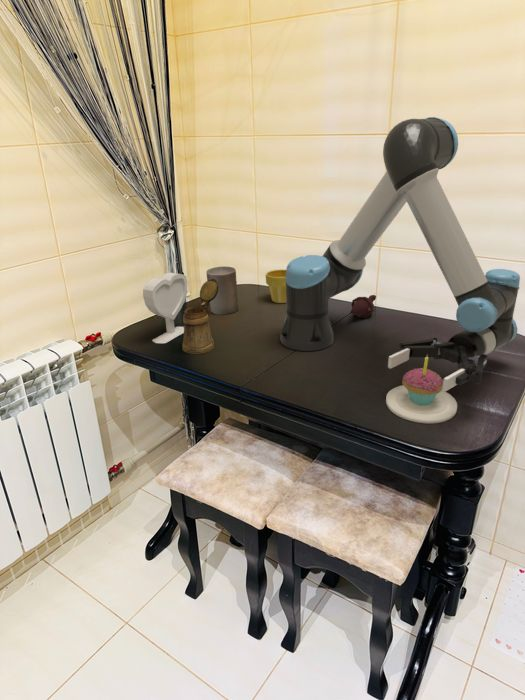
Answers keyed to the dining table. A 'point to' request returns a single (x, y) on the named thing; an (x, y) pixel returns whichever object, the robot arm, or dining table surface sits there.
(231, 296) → the pillar candle
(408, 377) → the cupcake
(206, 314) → the wooden mug
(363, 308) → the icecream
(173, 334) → the heart sculpture
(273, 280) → the plant pot
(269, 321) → the dining table surface
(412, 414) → the saucer
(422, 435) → the dining table surface
